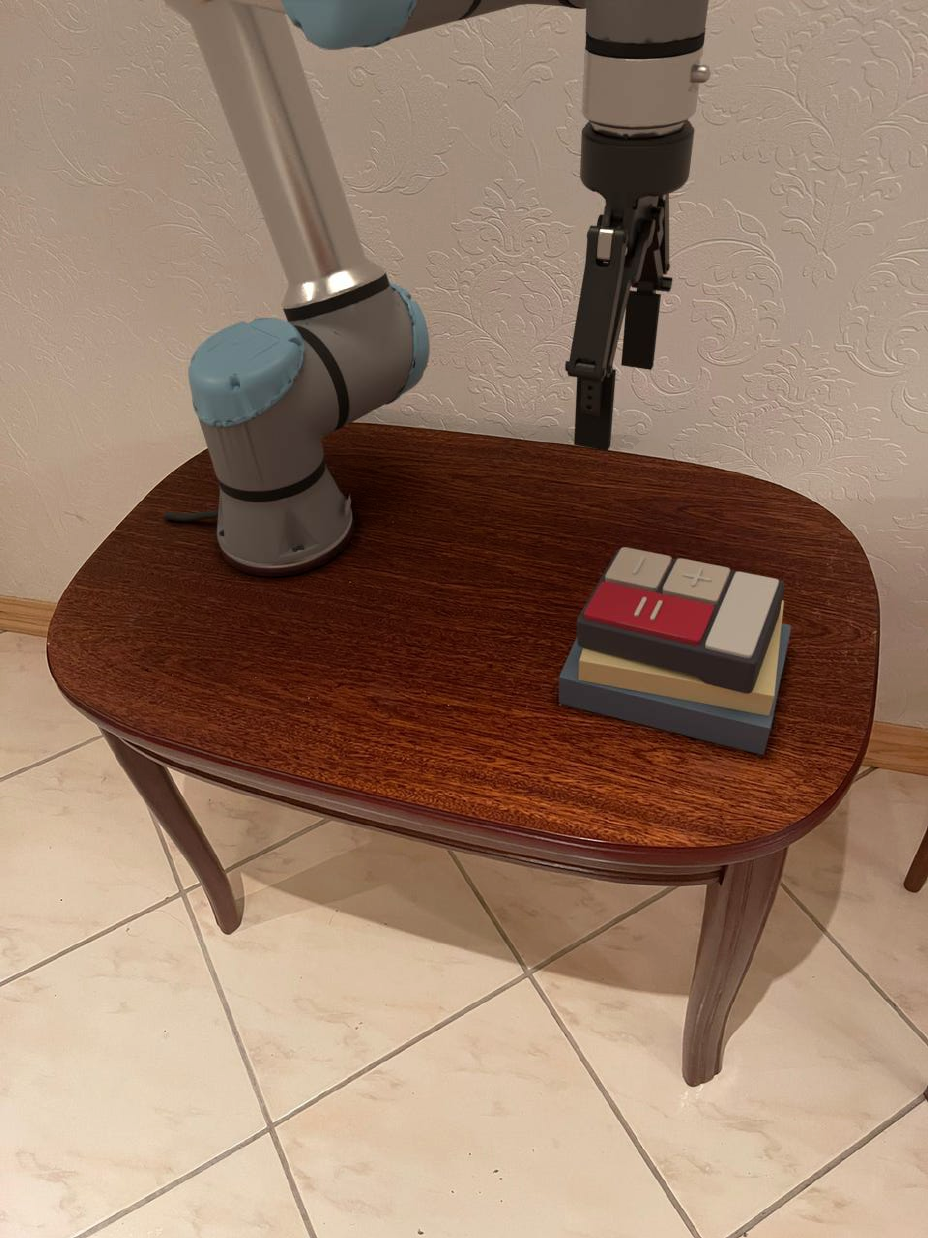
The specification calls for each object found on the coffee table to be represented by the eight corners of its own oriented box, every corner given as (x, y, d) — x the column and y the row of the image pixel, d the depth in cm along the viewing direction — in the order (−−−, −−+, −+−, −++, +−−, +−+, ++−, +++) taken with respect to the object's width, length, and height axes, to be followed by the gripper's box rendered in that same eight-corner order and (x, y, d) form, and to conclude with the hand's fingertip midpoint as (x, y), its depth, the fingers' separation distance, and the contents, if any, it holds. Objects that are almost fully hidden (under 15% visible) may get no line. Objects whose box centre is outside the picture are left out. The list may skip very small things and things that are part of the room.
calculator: (618, 540, 81) (787, 573, 75) (618, 576, 84) (781, 611, 78) (574, 614, 74) (757, 657, 68) (575, 651, 77) (751, 696, 71)
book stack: (558, 703, 80) (559, 656, 76) (598, 610, 89) (601, 563, 85) (763, 755, 74) (776, 708, 70) (785, 650, 83) (797, 602, 79)
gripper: (646, 185, 50) (618, 494, 65) (730, 77, 66) (693, 343, 81) (521, 175, 52) (522, 475, 67) (632, 72, 69) (613, 332, 83)
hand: (615, 403), depth 74 cm, fingers open, 13 cm apart
